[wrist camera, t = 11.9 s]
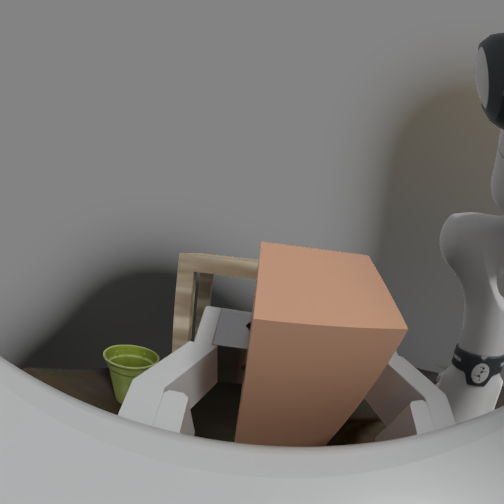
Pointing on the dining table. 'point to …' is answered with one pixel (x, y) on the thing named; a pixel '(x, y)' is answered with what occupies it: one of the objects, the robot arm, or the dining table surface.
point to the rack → (202, 287)
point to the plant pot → (127, 366)
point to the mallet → (313, 344)
